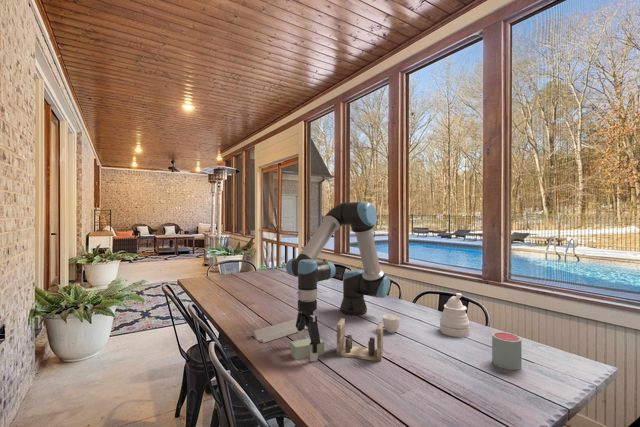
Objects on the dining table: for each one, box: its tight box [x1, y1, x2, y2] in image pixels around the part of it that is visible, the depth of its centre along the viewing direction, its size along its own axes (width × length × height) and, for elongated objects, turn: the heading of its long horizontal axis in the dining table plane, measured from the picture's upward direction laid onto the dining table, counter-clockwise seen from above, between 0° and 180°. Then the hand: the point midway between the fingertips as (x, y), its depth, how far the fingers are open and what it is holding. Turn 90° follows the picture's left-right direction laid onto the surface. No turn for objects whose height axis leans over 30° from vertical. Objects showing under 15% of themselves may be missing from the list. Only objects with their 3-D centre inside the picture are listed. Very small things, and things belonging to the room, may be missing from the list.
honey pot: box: [439, 292, 471, 338], centre depth 147 cm, size 13×13×18 cm
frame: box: [336, 317, 384, 362], centre depth 123 cm, size 17×8×12 cm, turn 74°
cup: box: [382, 313, 401, 334], centre depth 149 cm, size 8×10×7 cm
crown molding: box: [249, 318, 308, 344], centre depth 148 cm, size 31×12×4 cm, turn 132°
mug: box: [491, 331, 523, 371], centre depth 117 cm, size 14×9×10 cm
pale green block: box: [289, 337, 325, 361], centre depth 124 cm, size 12×6×5 cm, turn 115°
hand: (307, 353), depth 123 cm, fingers open, 13 cm apart
